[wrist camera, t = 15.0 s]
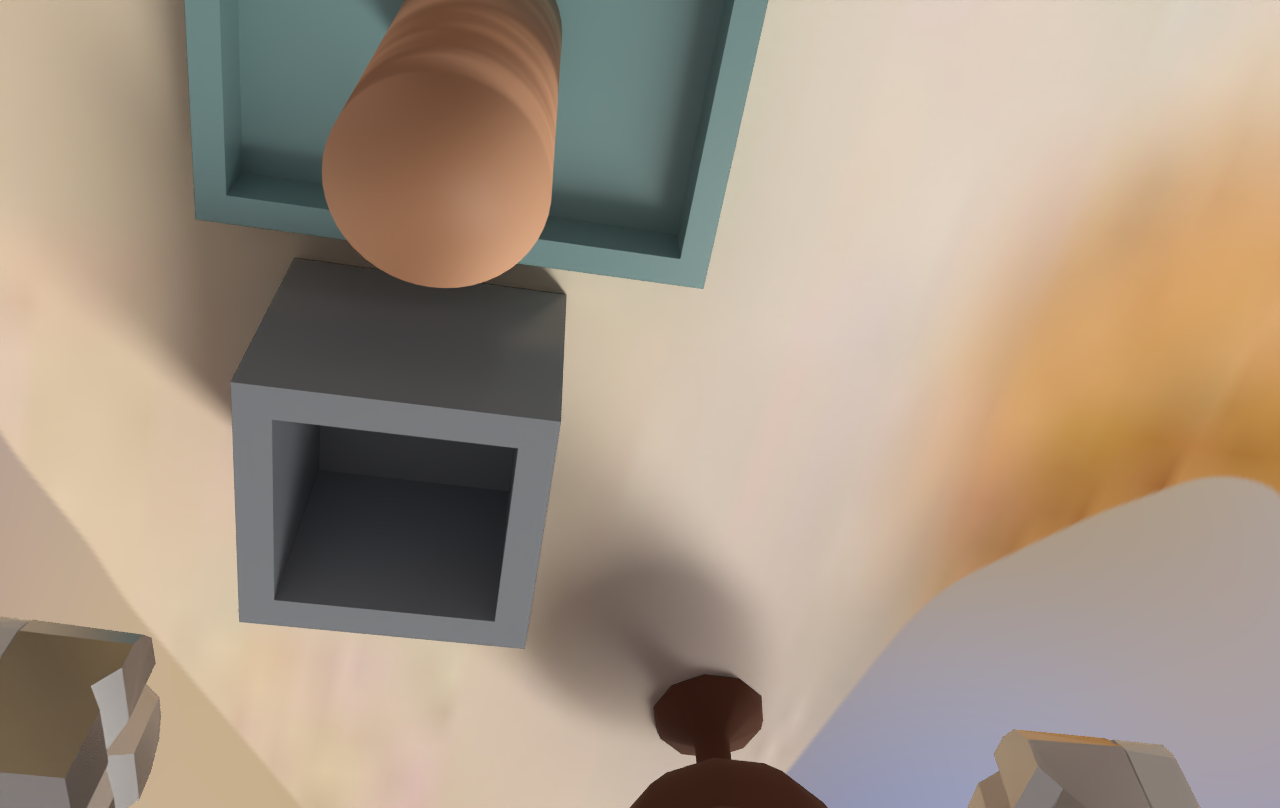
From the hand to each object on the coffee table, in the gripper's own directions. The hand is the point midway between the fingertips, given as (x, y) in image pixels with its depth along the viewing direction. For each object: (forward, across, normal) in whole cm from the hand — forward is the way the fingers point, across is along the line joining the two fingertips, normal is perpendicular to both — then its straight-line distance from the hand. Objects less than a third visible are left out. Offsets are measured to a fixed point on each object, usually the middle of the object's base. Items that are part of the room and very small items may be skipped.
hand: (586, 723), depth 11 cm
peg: (+29, +4, +2) cm, 29 cm away
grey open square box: (+30, +5, +16) cm, 34 cm away
